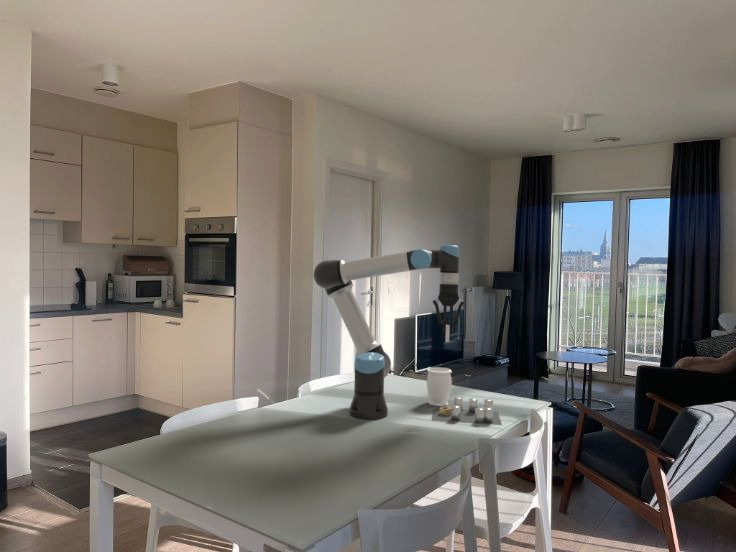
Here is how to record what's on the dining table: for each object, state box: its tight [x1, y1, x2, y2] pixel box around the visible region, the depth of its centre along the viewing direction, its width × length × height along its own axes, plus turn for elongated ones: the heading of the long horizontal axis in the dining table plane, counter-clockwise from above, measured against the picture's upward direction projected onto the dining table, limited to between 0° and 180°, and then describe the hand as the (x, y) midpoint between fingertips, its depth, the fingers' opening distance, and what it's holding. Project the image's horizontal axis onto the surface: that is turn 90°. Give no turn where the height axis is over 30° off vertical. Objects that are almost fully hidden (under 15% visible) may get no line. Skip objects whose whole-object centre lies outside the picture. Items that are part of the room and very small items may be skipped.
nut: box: [439, 406, 451, 416], centre depth 225 cm, size 4×5×2 cm
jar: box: [426, 367, 453, 407], centre depth 242 cm, size 11×10×15 cm
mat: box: [431, 406, 503, 426], centre depth 224 cm, size 26×19×1 cm
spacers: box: [450, 396, 494, 424], centre depth 223 cm, size 17×19×5 cm
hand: (447, 341), depth 232 cm, fingers closed
